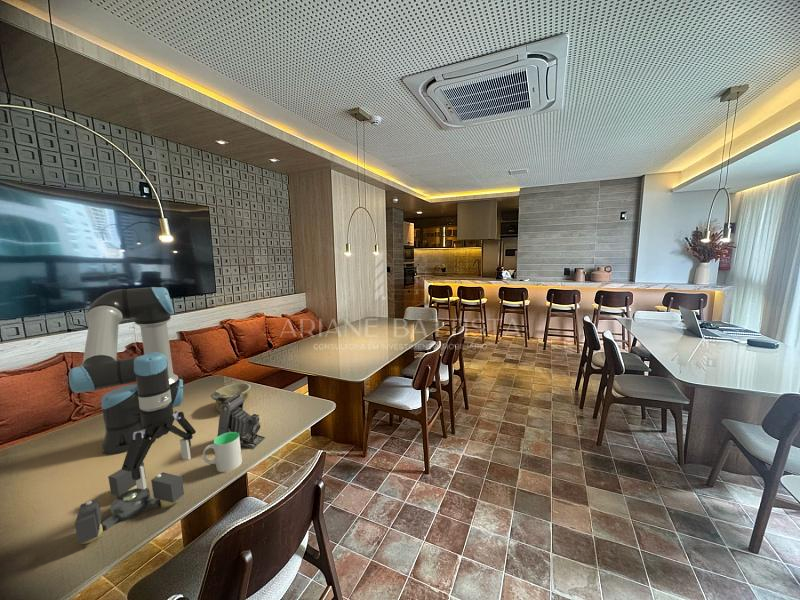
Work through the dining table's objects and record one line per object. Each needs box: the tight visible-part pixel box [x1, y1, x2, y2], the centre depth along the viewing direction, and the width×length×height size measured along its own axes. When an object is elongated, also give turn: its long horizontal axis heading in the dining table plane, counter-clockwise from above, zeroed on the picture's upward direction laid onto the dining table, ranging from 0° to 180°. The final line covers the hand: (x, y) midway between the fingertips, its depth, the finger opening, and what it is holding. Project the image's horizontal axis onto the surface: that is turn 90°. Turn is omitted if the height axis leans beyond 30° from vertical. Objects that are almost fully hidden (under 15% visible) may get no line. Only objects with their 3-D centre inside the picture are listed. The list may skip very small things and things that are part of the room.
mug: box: [202, 432, 243, 473], centre depth 113 cm, size 12×8×10 cm, turn 113°
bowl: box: [210, 382, 252, 412], centre depth 160 cm, size 18×18×10 cm
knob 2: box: [150, 471, 185, 508], centre depth 96 cm, size 4×8×9 cm, turn 74°
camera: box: [216, 392, 266, 449], centre depth 128 cm, size 11×17×20 cm, turn 79°
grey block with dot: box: [107, 461, 147, 497], centre depth 101 cm, size 4×8×9 cm, turn 164°
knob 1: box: [74, 498, 104, 545], centre depth 85 cm, size 4×8×9 cm, turn 38°
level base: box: [100, 487, 161, 531], centre depth 93 cm, size 14×12×5 cm
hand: (165, 472), depth 95 cm, fingers open, 13 cm apart
